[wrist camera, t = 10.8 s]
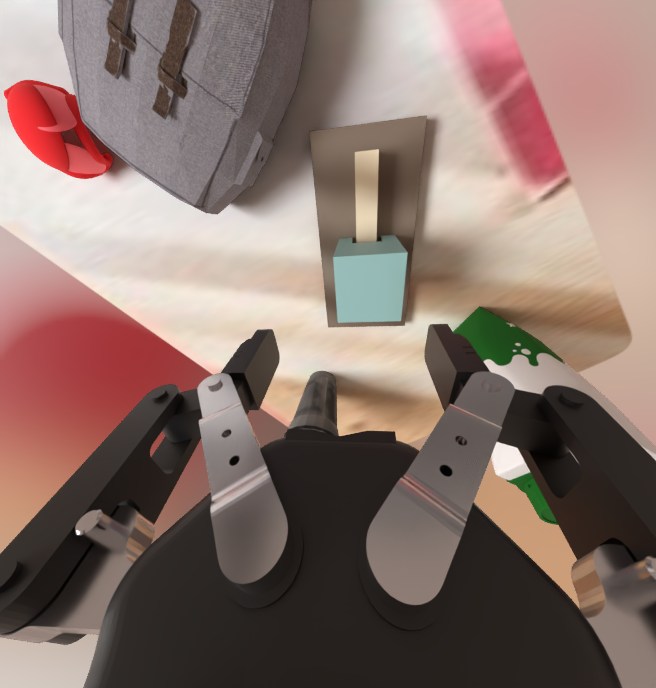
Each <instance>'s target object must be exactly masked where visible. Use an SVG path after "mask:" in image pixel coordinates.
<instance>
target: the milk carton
mask: <svg viewBox="0 0 656 688" xmlns="http://www.w3.org/2000/svg"><path fill="white" fill-rule="evenodd" d="M453 334H460V335H462V336H463V337H465V338H466V339H468V341H469V342H470V343H471V345H472V346H473V348H474V349H475V350H476V352H477V354H478V355H479V356H480V358H481V359H482V360H483V362H484V363H485V365H486V366H487V367H488V369H489V370H490V372H492V373H496V374H498V375H501V376H503V377H505V378H506V379H508V380H509V381H510V382H511V383H512V384H513V386H514V388H515V389H518V390H522V391H527V392H532V393H537V394H542V393H543V391H544V389H545V388H546V387H548V386H552V385H561V386H567V387H571V388H574V389H577V390H579V391H581V392H583V393H585V394H587V395H589V396H590V397H592V398H593V399H594V400H595V401H597V402H598V403H599V404H600V405H601V406H602V407H603V408H604V409H605V410H606V411H607V412H608V413H609V414H610V415H611V416H612V417H613V418H614V419H615V420H616V421H617V422H618V423H619V424H620V425H621V426H622V427H623V428H624V429H625V430H626V431H627V432H628V433H629V434H630V435H631V436H632V437H633V438H634V439H635V440H636V441H637V442H638V443H639V444H640V445H641V446H642V447H643V448H644V449H645V450H646V451H647V452H648V453H649V454H650V455H651V456H652V457H653V458H654V459H655V460H656V446H655V445H654V444H653V443H652V442H651V441H649V439H648V438H646V436H645V435H644V434H643V433H642V432H641V431H640V430H639V429H637V427H636V426H635V425H634V424H633V423H632V422H631V421H630V420H629V419H628V418H627V417H626V416H625V415H624V414H623V413H622V412H621V411H620V410H619V409H617V407H616V406H615V405H614V404H612V403H611V402H610V401H609V400H608V399H607V398H606V397H605V396H604V395H603V394H602V393H600V392H599V391H598V390H597V389H596V388H595V387H593V386H592V385H591V384H590V383H589V382H588V381H587V380H585V379H584V378H583V377H582V376H581V375H580V374H578V373H577V372H576V371H575V370H574V369H573V368H571V367H570V366H569V365H568V364H567V363H565V362H564V361H563V360H562V359H561V358H560V357H558V356H557V355H556V354H555V353H554V352H553V351H551V350H550V349H549V348H548V347H547V346H545V345H544V344H543V343H542V342H541V341H539V340H538V339H536V338H535V337H533V336H532V335H530V334H528V333H527V332H525V331H524V330H522V329H521V328H519V327H517V326H516V325H514V324H512V323H510V322H508V321H506V320H504V319H502V318H500V317H498V316H496V315H494V314H493V313H491V312H489V311H487V310H485V309H483V308H481V307H479V308H477V309H476V310H475V311H474V312H473V313H472V314H471V315H470V316H469V317H468V318H467V319H466V320H465V321H464V322H463V323H462V324H461V325H460V326H459V327H458V328H457V329H456V330H455V331H453ZM570 452H571V451H570ZM572 455H573V454H572ZM491 459H492V463H493V466H494V470H495V473H496V474H497V475H498V476H500V477H502V478H505V479H506V480H507V481H508V482H510V483H512V484H515V485H516V486H517V487H518V488H519V489H520V490H521V491H523V492H525V493H526V494H527V497H528V498H529V500H530V501H531V503H532V505H533V507H534V509H535V511H536V512H537V514H538V516H539V517H540V519H541V520H543V521H545V522H547V523H551V524H556V525H558V523H557V521H556V519H555V517H554V515H553V513H552V512H551V510H550V508H549V506H548V504H547V502H546V500H545V498H544V497H543V495H542V493H541V491H540V489H539V487H538V485H537V484H536V482H535V480H534V478H533V476H532V474H531V472H530V470H529V469H528V467H527V465H526V463H525V461H524V459H523V457H522V455H521V454H520V452H519V450H518V448H516V447H513V446H509V445H506V444H502V443H499V442H496V445H495V447H494V450H493V453H492V455H491ZM575 459H576V458H575ZM577 462H578V461H577Z"/></svg>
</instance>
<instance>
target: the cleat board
mask: <svg viewBox="0 0 656 688" xmlns="http://www.w3.org/2000/svg"><path fill="white" fill-rule="evenodd" d="M426 120H427V115H426V116H419V117H412V118H404V119H397V120H390V121H382V122H375V123H368V124H361V125H353V126H346V127H339V128H331V129H324V130H317V131H309V134H310V145H311V155H312V165H313V175H314V186H315V196H316V206H317V217H318V227H319V237H320V248H321V258H322V268H323V278H324V289H325V299H326V309H327V320H328V327H364V326H405V317H406V308H407V298H408V289H409V280H410V270H411V261H412V251H413V242H414V232H415V223H416V214H417V204H418V195H419V185H420V176H421V167H422V157H423V148H424V138H425V129H426ZM384 235H395V236H396V238H397V239H398V240H399V242H400V243H401V244H402V246H403V247H404V248H405V250H406V251H407V252H408V254H407V264H406V275H405V285H404V295H403V306H402V316H401V321H387V322H346V323H338V320H337V305H336V291H335V277H334V262H333V256H334V253H335V250H336V247H337V244H338V242H339V239H342V238H352V240H353V243H364V242H379V241H381V236H384Z"/></svg>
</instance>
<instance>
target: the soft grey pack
mask: <svg viewBox="0 0 656 688" xmlns="http://www.w3.org/2000/svg"><path fill="white" fill-rule="evenodd" d="M311 4H312V0H58V27H59V35H60V37H61V39H62V42H63V45H64V49H65V53H66V57H67V61H68V65H69V70H70V74H71V78H72V82H73V86H74V90H75V94H76V98H77V102H78V107H79V111H80V115H81V119H82V122H83V123H84V124H85V125H86V126H87V127H88V128H89V129H90V130H91V131H92V132H93V133H94V134H95V135H96V136H97V137H98V138H99V140H100V141H101V142H102V143H104V144H105V145H106V146H107V147H108V148H109V149H111V150H112V151H113V152H114V153H115V154H117V155H118V156H119V157H120V158H121V159H123V160H124V161H125V162H126V163H127V164H129V165H130V166H131V167H132V168H133V169H135V170H136V171H137V172H139V173H140V174H142V175H143V176H145V177H146V178H148V179H149V180H150V181H152V182H153V183H155V184H156V185H158V186H159V187H161V188H162V189H164V190H165V191H167V192H168V193H170V194H171V195H173V196H174V197H176V198H178V199H179V200H181V201H183V202H185V203H187V204H189V205H191V206H193V207H195V208H197V209H199V210H201V211H203V212H205V213H211V214H218V213H220V212H221V211H222V210H223V209H224V208H226V207H227V206H228V205H229V204H230V203H231V202H232V201H233V200H234V199H235V198H236V197H237V196H238V195H239V194H240V193H241V192H243V191H244V190H245V189H246V188H247V187H248V186H249V187H252V186H253V184H254V182H255V180H256V178H257V176H258V175H259V173H260V171H261V169H262V167H263V166H264V165H265V163H266V161H267V159H268V156H269V154H270V152H271V150H272V148H273V142H272V141H273V139H274V136H275V134H276V132H277V130H278V127H279V125H280V123H281V121H282V118H283V116H284V114H285V112H286V109H287V107H288V105H289V103H290V101H291V98H292V96H293V94H294V92H295V89H296V87H297V82H298V77H299V72H300V67H301V62H302V57H303V52H304V48H305V43H306V38H307V33H308V28H309V18H310V11H311Z"/></svg>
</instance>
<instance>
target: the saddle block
mask: <svg viewBox="0 0 656 688" xmlns="http://www.w3.org/2000/svg"><path fill="white" fill-rule="evenodd" d="M407 254H408V252H407V251H406V250H405V248H404V247H403V246H402V244H401V243H400V242H399V240H398V239H397V238H396V236H395V235H384V236H381V241H379V242H364V243H353V240H352V238H342V239H339V242H338V244H337V247H336V250H335V253H334V256H333V262H334V277H335V291H336V305H337V320H338V323H346V322H387V321H401V316H402V306H403V295H404V285H405V275H406V264H407Z"/></svg>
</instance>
